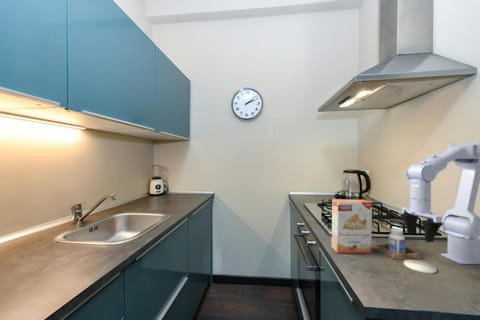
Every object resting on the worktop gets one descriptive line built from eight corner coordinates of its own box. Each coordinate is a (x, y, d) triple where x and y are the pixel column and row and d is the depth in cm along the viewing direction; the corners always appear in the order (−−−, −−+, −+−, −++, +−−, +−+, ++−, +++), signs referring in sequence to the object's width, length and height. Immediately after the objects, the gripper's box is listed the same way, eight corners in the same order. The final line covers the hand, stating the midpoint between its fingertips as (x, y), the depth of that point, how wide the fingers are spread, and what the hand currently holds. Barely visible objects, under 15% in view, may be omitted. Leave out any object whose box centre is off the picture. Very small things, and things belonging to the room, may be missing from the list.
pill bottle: (402, 252, 91) (403, 228, 91) (406, 257, 86) (406, 232, 86) (387, 250, 93) (387, 226, 93) (389, 255, 88) (390, 230, 88)
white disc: (421, 261, 83) (421, 259, 83) (444, 273, 74) (444, 271, 74) (397, 261, 83) (397, 259, 83) (417, 273, 74) (417, 271, 74)
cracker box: (337, 254, 89) (337, 201, 89) (331, 248, 95) (331, 198, 95) (372, 254, 89) (372, 201, 89) (363, 248, 95) (364, 198, 95)
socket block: (399, 248, 95) (399, 243, 95) (420, 259, 84) (420, 254, 84) (375, 248, 94) (375, 243, 94) (393, 259, 84) (393, 254, 84)
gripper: (394, 195, 85) (393, 230, 85) (427, 202, 71) (426, 245, 71) (412, 195, 86) (411, 230, 86) (448, 202, 71) (448, 245, 71)
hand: (419, 237), depth 78 cm, fingers open, 7 cm apart
